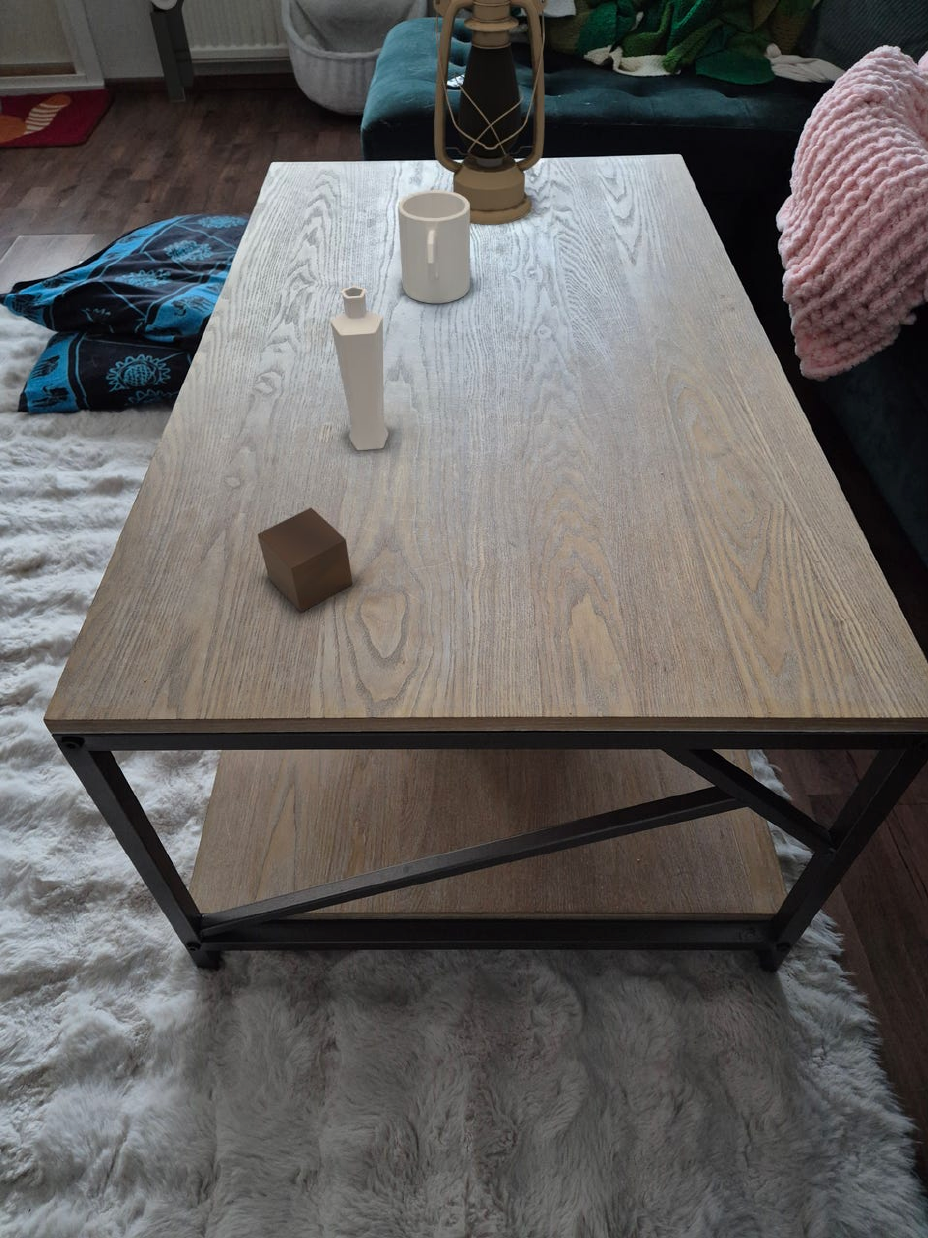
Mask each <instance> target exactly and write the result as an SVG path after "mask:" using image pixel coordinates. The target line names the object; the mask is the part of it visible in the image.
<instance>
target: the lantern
mask: <svg viewBox="0 0 928 1238" xmlns="http://www.w3.org/2000/svg"><path fill="white" fill-rule="evenodd" d="M547 6H548V0H433V8H434V10H435V11H436V18H435V19H436V20H435V38H436V50H437V61H436V63H437V64H436V79H435V94H434V118H433V119H434V121H433V123H434V124H433V126H434V128H433V130H434V132H433V133H434V134H433V135H434V136H433V137H434V139H433V140H434V142H433V143H434V145H433V146H434V154H435V155H434V156H435V160H437V162H438V163H439V165H440V166H442V168H444V169H446V170H447V171H448V172H451V173H453V175H452V182H453V183H452V185H453V187H452V188H453V190H452V192H454V193H457V194H460V195H461V196H463V197H465V198H466V199H467V200H468V202H469V203H470V224H476V225H502V224H507V223H512V222H516V221H518V220H520V219H522V218H525V217H526V216H527V215H528V214H529V213H530V212H531V210H532V205H533V204H532V202H531V200H530V198H529V196H528V194H526V192H525V187H526V186H525V185H526V184H525V183H526V181H525V179H526V174H525V172H526V171H528V170H530V169H531V168H533V167H534V166H535V165H536V164H538V162H539V161H540V160H541V158H542V157H543V153H544V152H543V151H544V144H545V122H546V121H545V70H544V68H545V67H544V46H545V12H544V11H545V9H546V7H547ZM511 8H520V9H522V10H523V11H524V13H525V15H526V20H527V27H528V33H529V43H530V55H531V69H532V94H531V98H530V103H529V108H528V109H527V113H526V117H525V120H524V123H523V125H522V126H521V124H522V106H521V105H522V104H521V103H522V102H523V99H524V93H523V90H522V88H521V87H520V86H519V83H518V76H517V71H516V65H515V59H514V56H513V51H512V48H511V44H512V40H511V39H510V30H512V29H515V28H517V27H518V26H519V20H518V18H515V17H514V16H511ZM463 9H471V11H472V13H471V14H472V15H471V16H468V17H467V18H465V19H464V20H463V25H464V27H466V28H468V29H470V30H472V34H471V35H472V39H471V40H470V44H471V46H470V49H469V53H468V57H467V61H466V64H465V70H464V75H461V74H460V73H459V72H457V71H453V78H454V80H455V82H456V83H457V85H458V86H459V88H460V89H461V90H460V96H459V103H458V110H457V123H456V121H455V118H454V115H453V111H452V108H451V104H450V100H449V96H448V79H449V68H450V67H449V65H450V57H451V49H452V37H453V32H454V28H455V23H456V17H457V15H458V13H459V12H460V10H463ZM540 13H541V19H542V20H541V22H542V29H541V22H540V15H539V14H540ZM439 15H440V16H442V23H441V29H440V35H438V25H439V24H438V23H439ZM456 75H458V76H459V77H460V78H462V79H463V80H462V85H461V84H460V83H459V81H458V79H457V77H456ZM520 93H521V96H520ZM447 106H448V110H449V112H450V115H451V119H452V122H453V124H454V127H455V128H456V129H457V131H458V133H459V137H460V139H461V141H462V143H463V144H464V146H465V147H466V148H467V149H468V150H467V153H462V152H461V151H460V149H459V148H458V147H446V117H447V116H446V114H447V113H446V112H447ZM532 106H533V130H532V131H533V134H532V135H533V136H532V145H524V146H523V145H522V146H520V147H519V148H518V150H517V151H516V152H510V149H511V148H513V146H514V145H515V144H516V142H517V140H518V139H519V135H520V132H521V131H522V130H523V128H524V127H525V126H526V124H527V122H528V119H529V116H530V112H531V107H532ZM523 148H532V149H531V153H530V154H529V155H528V156H526V157H525V158H523V159H520V160H518V161H517V160H516V159H515V158H514V157H512V156H510V155H517V154H519V152H520V151H521V150H522V149H523ZM453 149H454V150H457V151H458V153H459V154H460V155H463V156H466V157H465V158H464V159H462V161H461V162H459V161H456V160H455V159H452V158H451V157H450V156H449V155H448V154H447V152H446V151H447V150H453Z"/></svg>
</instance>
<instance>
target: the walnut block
mask: <svg viewBox="0 0 928 1238" xmlns="http://www.w3.org/2000/svg"><path fill="white" fill-rule="evenodd" d="M257 537H258V541H259V546H260V549H261V553H262V558H263V563H264V566H265V570H266V574H267V579H268V580H269V581H270V582H271V583H272V584H273V585H274V586H275V587H276V588H277V589H278V590H279V591H280V592H281V594H282V595H284V597H285V598H286V599H287V600H288V601H289V602H290V603H291V604H292V605H293V606H294V607H295V609H297V610H298V611H299V612H300V613H304V611H307V610H308V609H310V608H312V607H314V606H316V605H318V604H320V603H321V602H323V601H325V600H326V599H328V598H330V597H332V596H334V595H335V594H337V593H339V592H341V591H342V590H344V589H346V588H349V587H350V586H351V585H353V578H352V577H353V576H352V571H351V565H350V557H349V551H348V544H347V539H346V538H345V537H344V536H343V535H342V534H341V533H340V532H338V530H336V529H335V528H334V527H333V526H332V525H331V524H330V523H329V522H328V521H327V520H325V518H323V517H322V516H321V515H320V514H319V513H318V512H317V511H316V509H314V508H312V507H309V508H307V509H305V510H302V511H301V512H298V513H296V514H295V515H293V516H291V517H289V518H287V519H285V520H283V521H281V522H279V523H277V524H275V525H273V526H271V527H269V528H266V529H264V530H263V531H260V532H259V533H257Z"/></svg>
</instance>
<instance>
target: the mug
mask: <svg viewBox="0 0 928 1238" xmlns="http://www.w3.org/2000/svg"><path fill="white" fill-rule="evenodd" d="M397 216H398V229H399V231H398V232H399V246H400V262H401V264H400V265H401V280H402V289H403V292H404V293H405V294H406V295H407V296H408V297H409V298H410V299H412V300H415V301H418V302H420V303H426V304H444V303H451V302H454V301H457V300H460V299H461V298H463V297H464V296H465V295H467V293H468V292H469V291H470V287H471V223H470V203H469V202H468V200H467V199H466V198H465V197H463V196H461V195H460V194H457V193H454V192H453V191H449V190H443V189H428V190H420V191H416V192H413V193H410V194H408V195H407V196H404V197H403V198H402V199H401V200H400V201H399V202H398V205H397Z"/></svg>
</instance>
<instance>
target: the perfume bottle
mask: <svg viewBox="0 0 928 1238" xmlns="http://www.w3.org/2000/svg"><path fill="white" fill-rule="evenodd" d="M366 292H367V289H366V288H364V287H360V286H357V285H350V286H349V287H346V288H344V289H341V291H340V294H341V295H342V299H343V300H342V301H343V308H344V312H343V313H341V314H339V315H337V316H335V317H333V318H331V319H330V320H329V322H330V327H331V332H332V336H333V341H334V342H333V343H334V346H335V350H336V357H337V362H338V366H339V371H340V376H341V381H342V384H343V390H344V396H345V400H346V405H347V411H348V416H349V421H350V428H349V433H348V438H349V440H350V441H351V443H352V445H353V447H354V448H355V450H357V451H367V450H379V449H383V448H384V447H385V445H386V443H387V440H388V437H389V435H390V434H389V432H388V429H387V426H386V424H385V420H384V419H385V418H384V417H385V416H384V413H385V411H384V410H385V409H384V405H385V403H384V402H385V401H384V317H383V315H381V314H378V313H374V312H372V311H368V310H367V301H366Z"/></svg>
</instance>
